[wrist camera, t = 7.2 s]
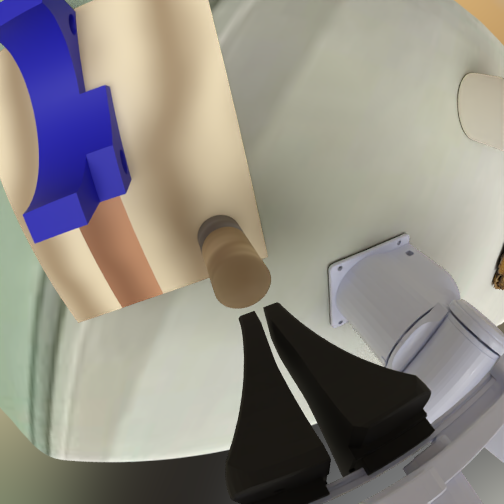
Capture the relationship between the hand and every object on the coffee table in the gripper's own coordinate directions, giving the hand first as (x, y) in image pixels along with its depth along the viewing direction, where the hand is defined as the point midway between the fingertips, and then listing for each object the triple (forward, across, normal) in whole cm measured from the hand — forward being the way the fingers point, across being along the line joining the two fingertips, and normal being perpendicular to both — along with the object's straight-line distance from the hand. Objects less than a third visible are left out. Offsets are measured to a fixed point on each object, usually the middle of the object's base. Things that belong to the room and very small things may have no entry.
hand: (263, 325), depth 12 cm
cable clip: (+9, +6, -12) cm, 16 cm away
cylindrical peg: (+9, 0, 0) cm, 9 cm away
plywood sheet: (+9, +5, -8) cm, 13 cm away
